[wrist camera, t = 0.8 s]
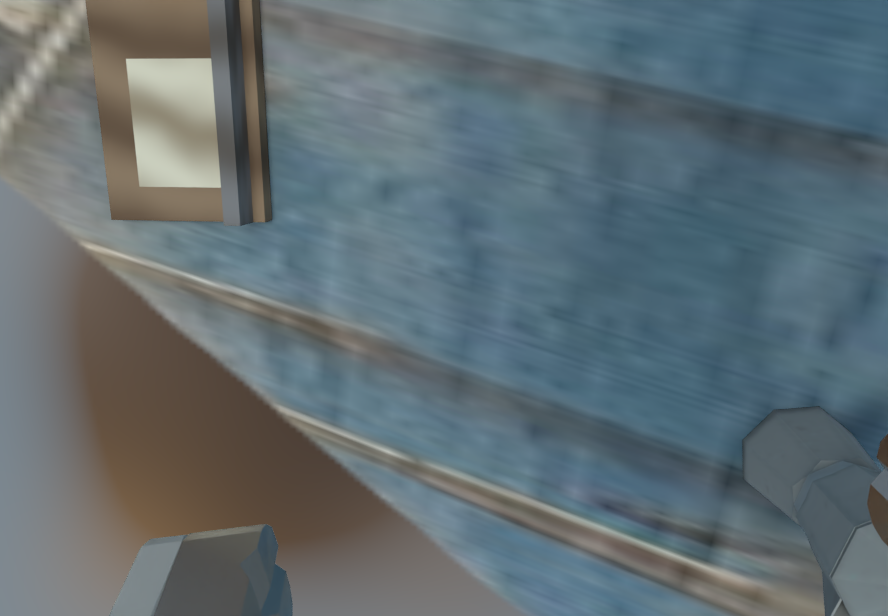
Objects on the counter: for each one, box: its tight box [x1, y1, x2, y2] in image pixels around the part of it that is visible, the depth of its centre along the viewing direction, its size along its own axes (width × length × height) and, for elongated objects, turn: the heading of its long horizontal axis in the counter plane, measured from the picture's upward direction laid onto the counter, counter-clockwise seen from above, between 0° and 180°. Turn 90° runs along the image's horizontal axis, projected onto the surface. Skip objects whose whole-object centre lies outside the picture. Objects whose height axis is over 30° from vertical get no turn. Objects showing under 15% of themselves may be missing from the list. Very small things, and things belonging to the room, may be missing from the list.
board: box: [86, 0, 272, 226], centre depth 44 cm, size 26×12×4 cm, turn 0°
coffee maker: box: [742, 406, 888, 616], centre depth 41 cm, size 15×9×18 cm, turn 142°
